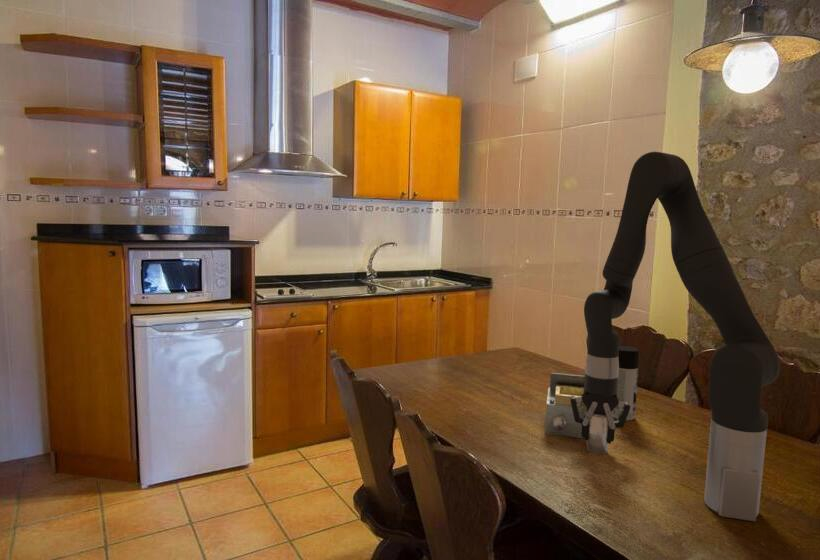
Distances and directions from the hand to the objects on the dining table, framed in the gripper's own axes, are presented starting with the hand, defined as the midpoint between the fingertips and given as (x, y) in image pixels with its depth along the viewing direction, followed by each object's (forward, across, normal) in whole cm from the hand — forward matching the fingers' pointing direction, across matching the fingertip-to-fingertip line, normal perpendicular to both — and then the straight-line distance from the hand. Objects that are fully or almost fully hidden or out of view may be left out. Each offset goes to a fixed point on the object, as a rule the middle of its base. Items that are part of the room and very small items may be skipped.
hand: (597, 440), depth 129 cm
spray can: (+3, +8, +25) cm, 26 cm away
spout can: (+2, 0, 0) cm, 2 cm away
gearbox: (+2, -7, +12) cm, 14 cm away
